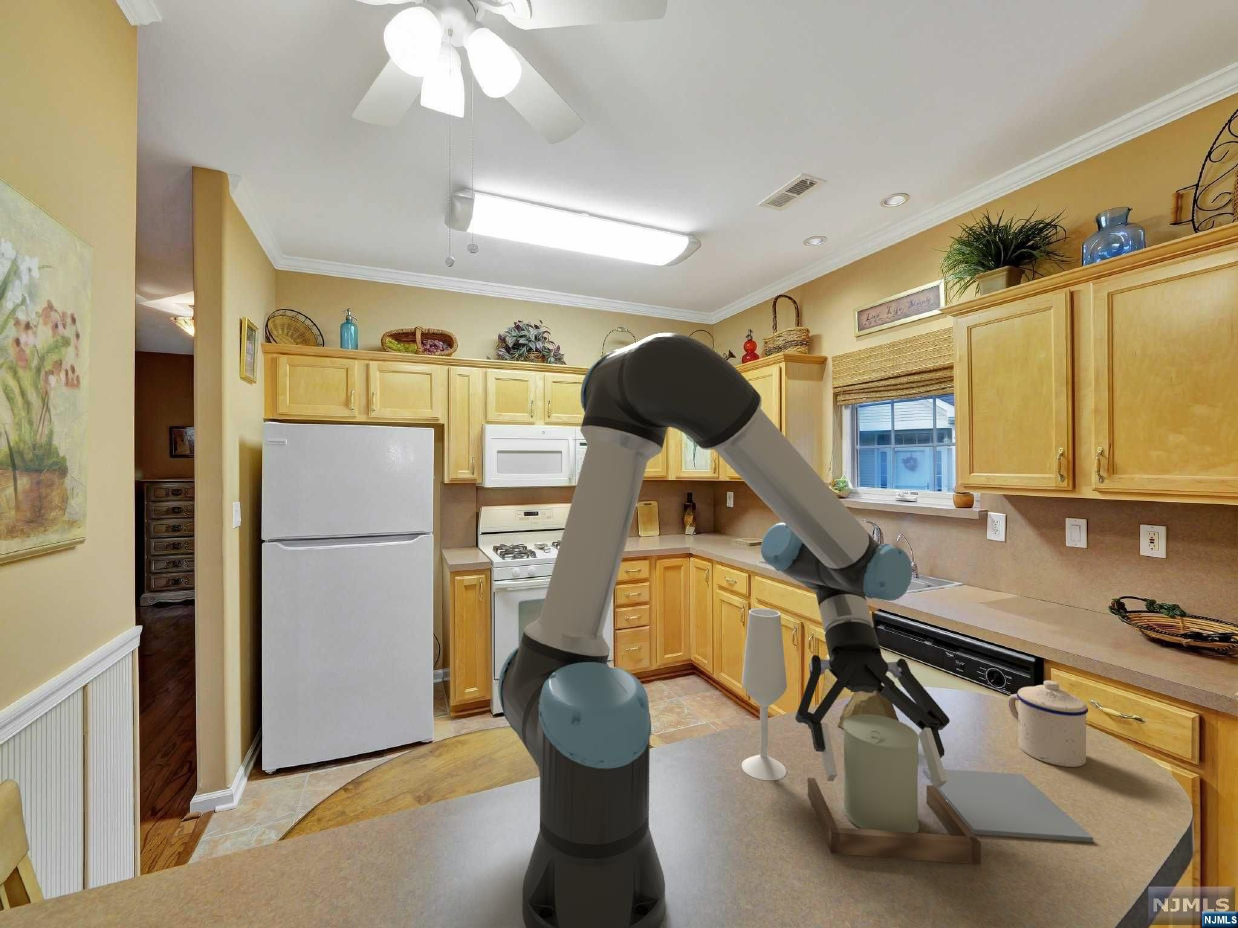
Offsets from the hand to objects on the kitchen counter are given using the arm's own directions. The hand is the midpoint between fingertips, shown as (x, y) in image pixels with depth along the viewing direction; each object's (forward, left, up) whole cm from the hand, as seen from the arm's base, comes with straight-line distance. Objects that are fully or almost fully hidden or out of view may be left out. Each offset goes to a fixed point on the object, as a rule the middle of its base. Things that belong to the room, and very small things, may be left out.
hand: (886, 781), depth 71 cm
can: (0, +2, -6) cm, 6 cm away
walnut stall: (0, -1, -5) cm, 6 cm away
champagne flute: (-12, +13, -6) cm, 19 cm away
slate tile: (+18, +4, -5) cm, 19 cm away
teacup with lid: (+36, +18, -6) cm, 41 cm away
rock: (+9, +22, -6) cm, 24 cm away
